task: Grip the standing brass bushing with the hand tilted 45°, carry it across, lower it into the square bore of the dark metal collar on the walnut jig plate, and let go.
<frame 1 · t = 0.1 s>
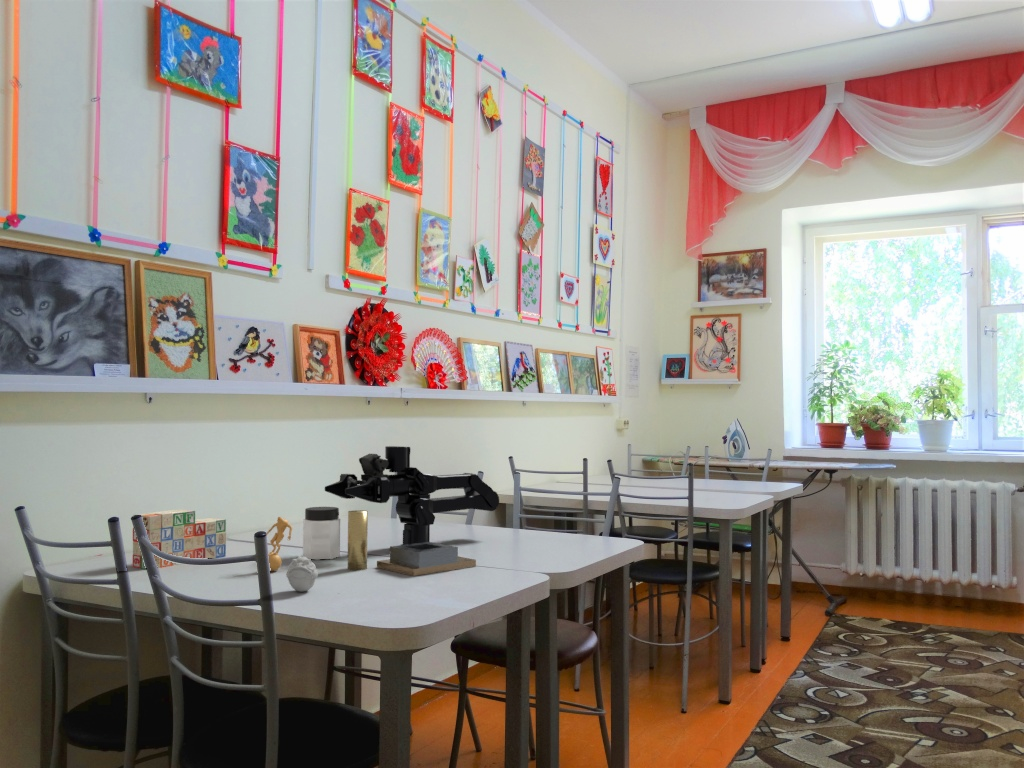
hand: (334, 490, 206), 17 cm above the table, tool horizontal, fingers open, 9 cm apart
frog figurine: (301, 592, 166), on the table
jig: (426, 566, 194), on the table
jar: (321, 558, 207), on the table
bushing: (357, 568, 192), on the table
figurine: (275, 571, 188), on the table
stack of blocks: (180, 562, 200), on the table
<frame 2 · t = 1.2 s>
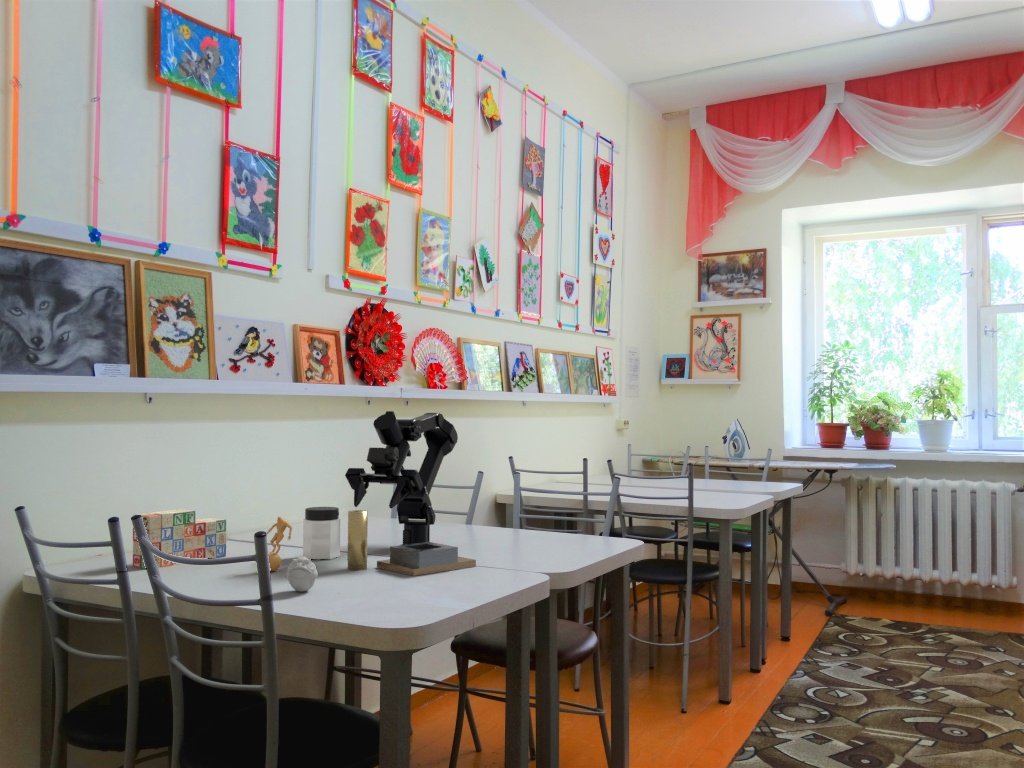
hand: (372, 506, 199), 13 cm above the table, tool tilted 45°, fingers open, 9 cm apart
nothing on the table moved.
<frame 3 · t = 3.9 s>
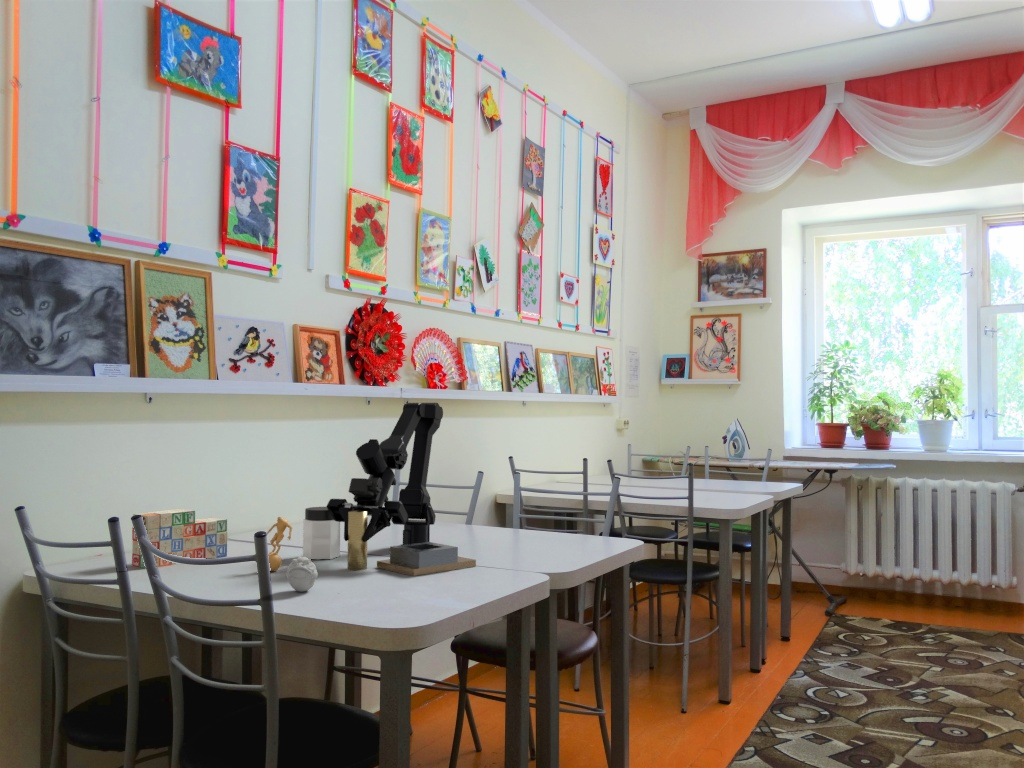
hand: (354, 540, 190), 7 cm above the table, tool tilted 45°, fingers closed on bushing, 4 cm apart
bushing: (357, 568, 192), on the table, touching gripper
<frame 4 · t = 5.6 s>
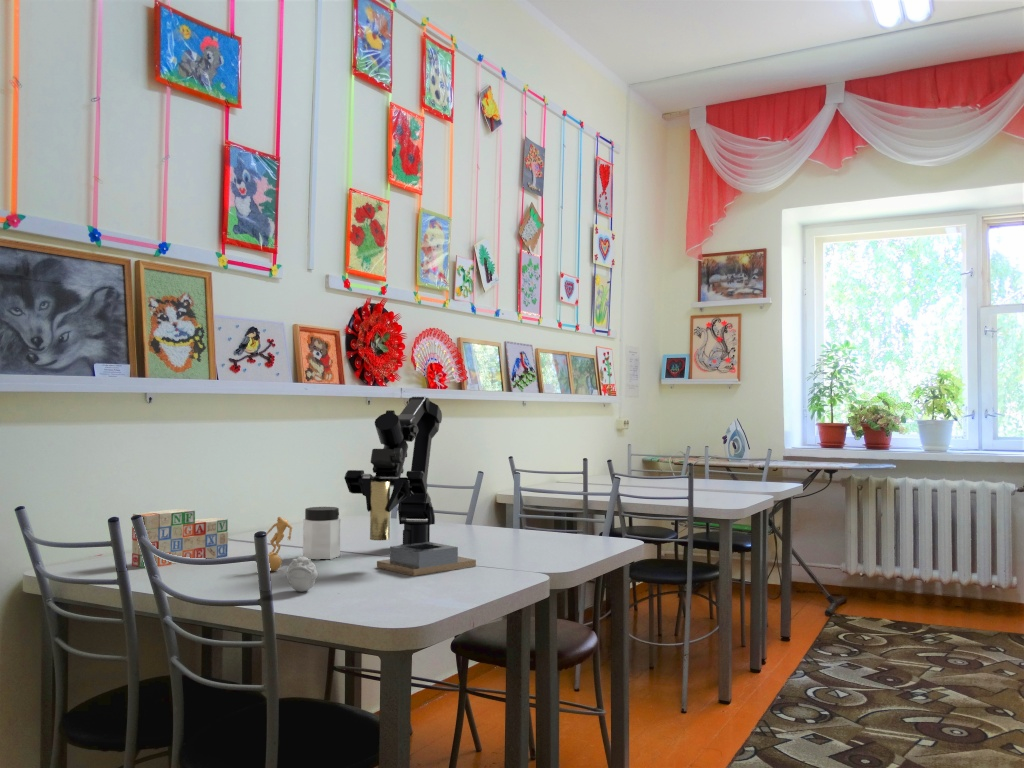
hand: (378, 510, 190), 13 cm above the table, tool tilted 45°, fingers closed on bushing, 4 cm apart
bushing: (379, 538, 191), point 7 cm above the table, touching gripper
when the fingers open (9 cm above the table, at t = 7.6 s): bushing drops 1 cm, resting on jig.
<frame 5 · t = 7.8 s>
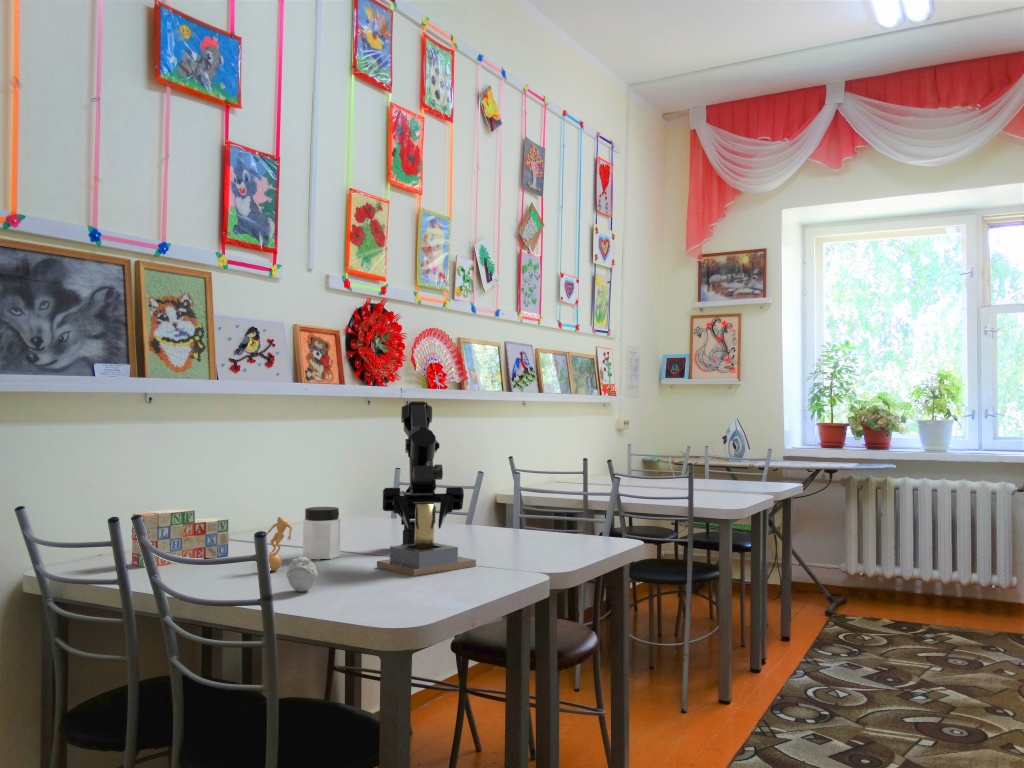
hand: (424, 527, 190), 10 cm above the table, tool tilted 45°, fingers open, 7 cm apart
bushing: (423, 561, 192), point 2 cm above the table, touching jig
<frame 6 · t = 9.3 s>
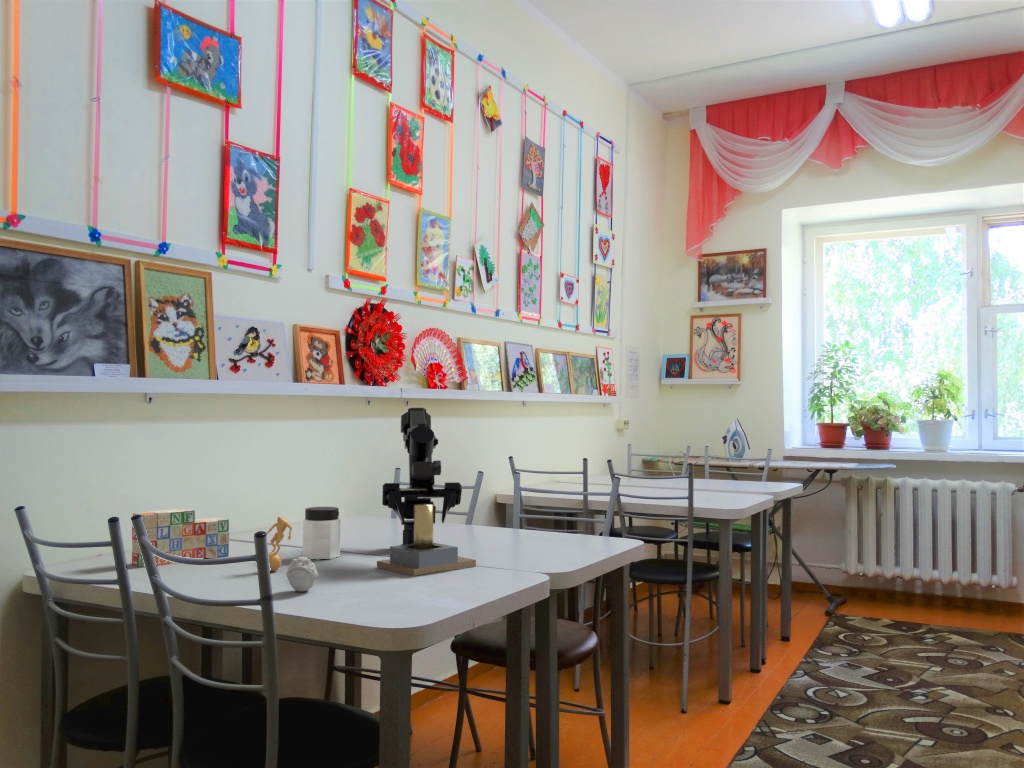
hand: (423, 522, 195), 10 cm above the table, tool tilted 45°, fingers open, 9 cm apart
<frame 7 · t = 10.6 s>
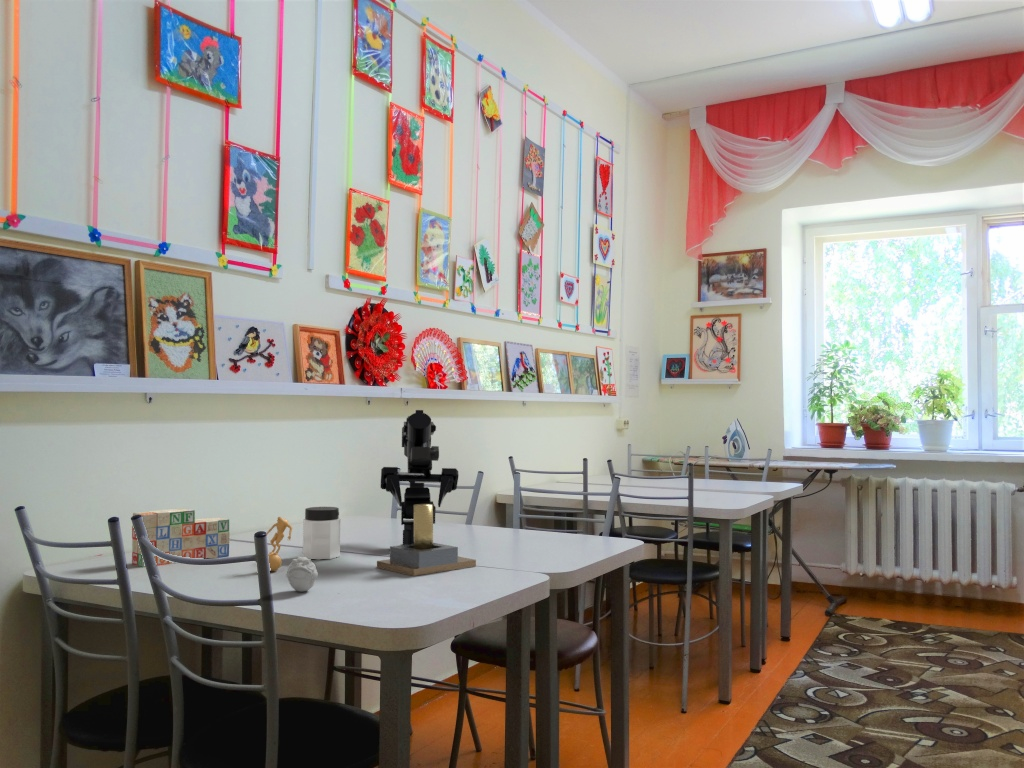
hand: (420, 505, 200), 14 cm above the table, tool tilted 45°, fingers open, 9 cm apart
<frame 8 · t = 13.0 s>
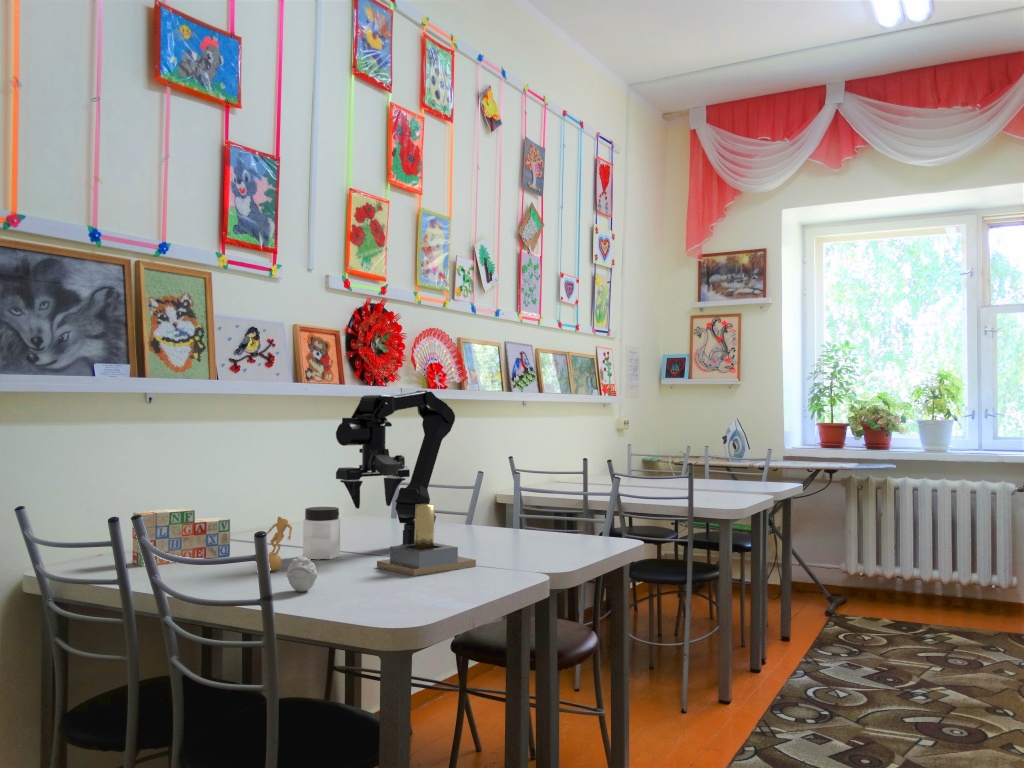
hand: (373, 507, 210), 12 cm above the table, tool pointing down, fingers open, 9 cm apart
at the end: bushing 0.0 cm from the target spot, point 1.6 cm above the table; bushing tilted 2°; the gripper is holding nothing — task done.
